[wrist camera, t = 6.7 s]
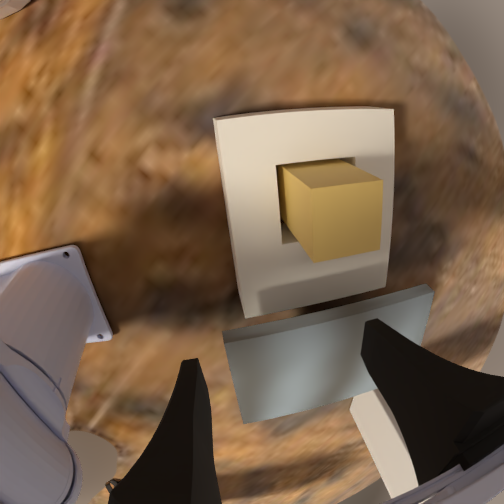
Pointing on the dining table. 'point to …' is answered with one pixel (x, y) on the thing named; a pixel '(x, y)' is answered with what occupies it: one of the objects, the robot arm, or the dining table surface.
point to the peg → (331, 207)
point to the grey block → (315, 354)
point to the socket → (267, 202)
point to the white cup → (11, 7)
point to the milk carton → (384, 442)
